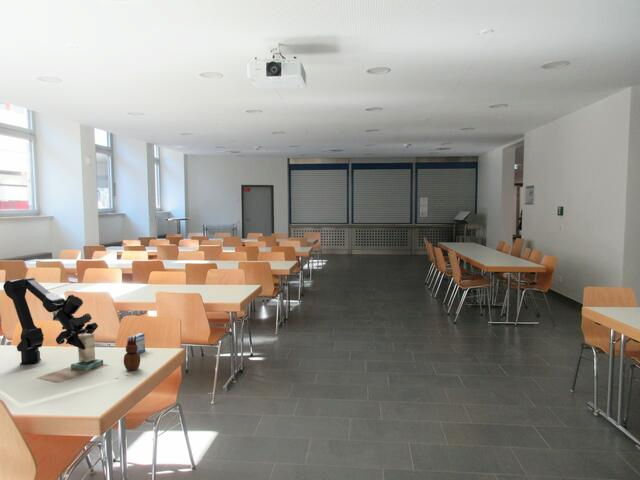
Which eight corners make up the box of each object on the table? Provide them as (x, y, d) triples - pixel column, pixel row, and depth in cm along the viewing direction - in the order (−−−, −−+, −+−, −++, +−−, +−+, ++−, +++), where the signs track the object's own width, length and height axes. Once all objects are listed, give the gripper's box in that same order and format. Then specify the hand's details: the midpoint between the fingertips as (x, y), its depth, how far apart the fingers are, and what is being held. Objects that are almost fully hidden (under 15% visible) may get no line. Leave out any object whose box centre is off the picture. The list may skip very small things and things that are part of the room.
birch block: (78, 360, 203) (77, 335, 203) (86, 357, 207) (86, 333, 207) (87, 361, 202) (86, 336, 201) (95, 358, 206) (94, 334, 205)
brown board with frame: (58, 385, 185) (58, 377, 185) (35, 380, 191) (35, 373, 191) (109, 367, 207) (109, 360, 206) (87, 363, 213) (87, 356, 213)
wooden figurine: (143, 368, 204) (142, 334, 203) (133, 372, 199) (131, 337, 198) (131, 366, 207) (130, 333, 206) (121, 370, 202) (120, 336, 201)
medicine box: (136, 355, 224) (135, 337, 224) (127, 354, 225) (127, 337, 224) (145, 350, 232) (144, 333, 231) (137, 350, 233) (136, 333, 232)
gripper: (59, 313, 196) (81, 341, 193) (94, 304, 213) (114, 330, 211) (46, 330, 199) (67, 358, 196) (81, 320, 216) (101, 346, 214)
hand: (88, 347), depth 204 cm, fingers closed on birch block, 4 cm apart
